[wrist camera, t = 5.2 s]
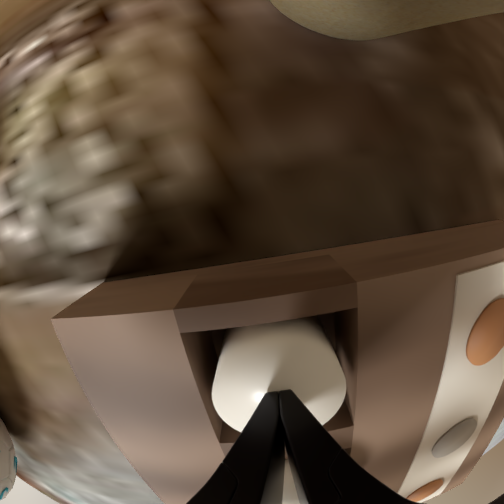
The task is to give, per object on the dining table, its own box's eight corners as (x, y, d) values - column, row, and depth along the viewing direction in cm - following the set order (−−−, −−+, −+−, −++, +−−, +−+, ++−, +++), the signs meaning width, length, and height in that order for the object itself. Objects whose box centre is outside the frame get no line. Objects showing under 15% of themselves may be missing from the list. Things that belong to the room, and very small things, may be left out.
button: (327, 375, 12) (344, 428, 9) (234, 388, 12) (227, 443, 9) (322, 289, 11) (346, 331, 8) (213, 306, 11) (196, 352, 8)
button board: (444, 451, 16) (463, 485, 11) (206, 498, 17) (199, 539, 13) (498, 219, 11) (556, 234, 7) (103, 282, 13) (46, 322, 8)
